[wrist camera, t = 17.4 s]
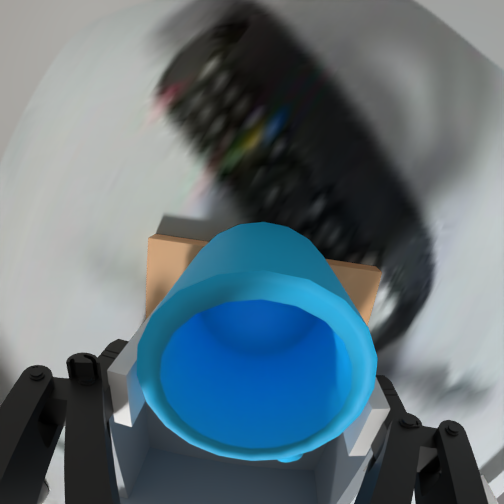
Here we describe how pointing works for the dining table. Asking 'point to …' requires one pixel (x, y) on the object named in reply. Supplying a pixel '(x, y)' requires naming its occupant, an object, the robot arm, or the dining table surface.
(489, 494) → the milk
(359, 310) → the panel
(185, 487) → the box
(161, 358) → the mug
